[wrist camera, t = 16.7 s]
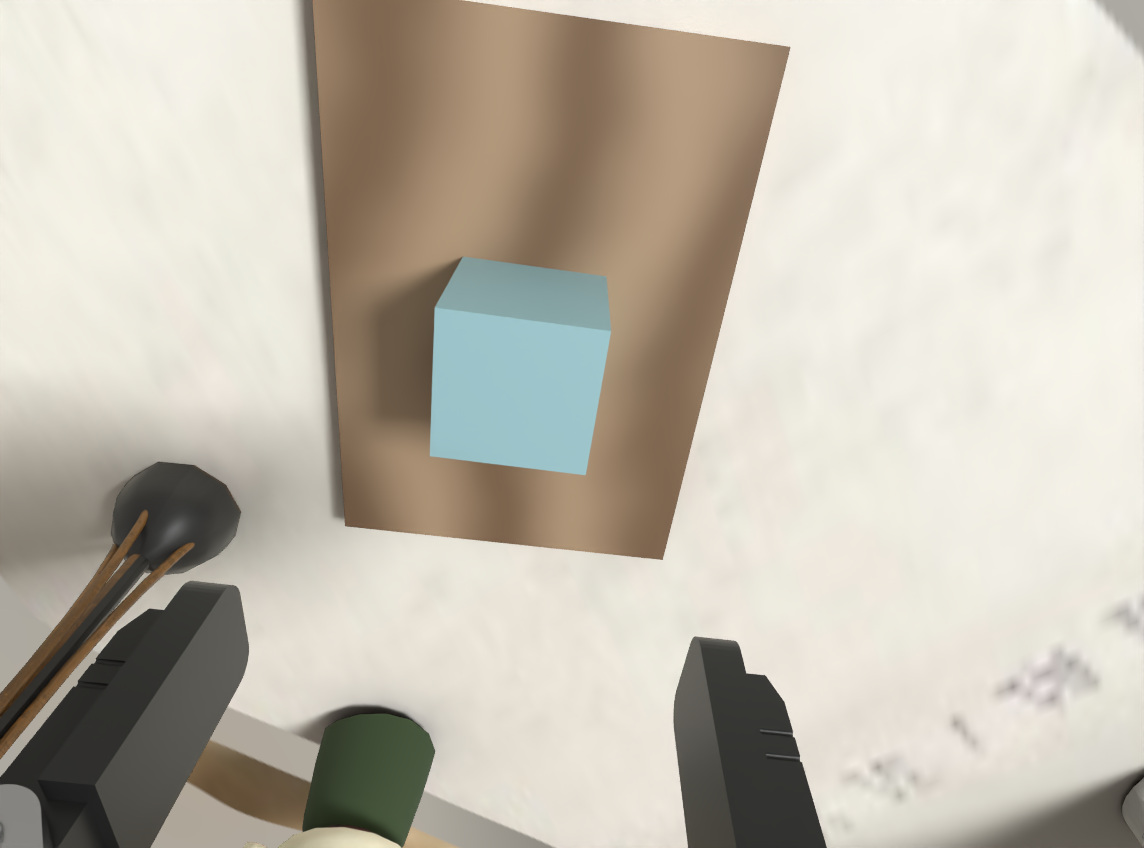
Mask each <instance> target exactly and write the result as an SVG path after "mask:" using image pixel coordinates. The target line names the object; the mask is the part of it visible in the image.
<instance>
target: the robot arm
mask: <svg viewBox="0 0 1144 848" xmlns="http://www.w3.org/2000/svg"><path fill="white" fill-rule="evenodd" d="M248 655H249V644H248V638H247V632H246V626H245V620H244V614H243V608H242V602H241V596H240V592H239V589H238V588H237V587H236V586H234V585H225V584H215V583H206V582H197V581H189V582H187V583H185V584H184V585H183V586H182V587H181V589H180V590H179V591H178V592H177V594H176V595H175V596H174V598H173V599H172V600H171V602H170V603H169V604H168V606H167V607H166V608H165V610H157V609H148V610H147V611H145V612H144V613H143V614H141V615H140V616H138V617H137V618H135V619H134V620H133V621H131V622H130V623H128V624H127V625H126V626H124V627H123V628H121V629H120V630H119V631H117V633H116V634H115V635H114V636H113V638H112V639H111V640H110V641H109V643H108V644H107V645H106V646H105V648H104V649H103V650H102V651H101V653H100V654H99V655H98V657H97V658H96V662H95V663H94V664H91V665H90V666H89V668H88V669H87V670H86V671H85V673H84V674H83V675H82V676H81V678H80V679H79V680H78V684H77V686H76V687H73V688H72V689H71V690H70V691H69V693H68V694H67V695H66V697H65V698H64V699H63V700H62V701H61V703H60V704H59V705H58V706H57V708H56V709H55V710H54V711H53V713H52V714H51V715H50V716H49V718H48V719H47V720H46V721H45V723H44V724H43V725H42V726H41V728H40V729H39V730H38V731H37V733H36V734H35V735H34V737H33V738H32V739H31V740H30V741H29V742H28V744H27V745H26V746H25V747H24V749H23V750H22V751H21V753H20V754H19V755H18V756H17V757H16V759H15V760H14V761H13V763H12V764H11V765H10V766H9V767H8V769H7V770H6V771H5V773H4V774H3V775H2V776H1V777H0V848H150V847H151V845H152V843H153V842H154V840H155V838H156V836H157V834H158V833H159V831H160V829H161V827H162V825H163V823H164V821H165V819H166V818H167V816H168V814H169V812H170V810H171V809H172V807H173V805H174V803H175V801H176V800H177V798H178V796H179V794H180V792H181V790H182V788H183V787H184V785H185V783H186V781H187V780H188V778H189V776H190V774H191V772H192V770H193V769H194V767H195V765H196V763H197V761H198V759H199V758H200V756H201V754H202V752H203V750H204V748H205V747H206V745H207V743H208V741H209V739H210V737H211V736H212V734H213V732H214V730H215V728H216V726H217V725H218V723H219V721H220V719H221V717H222V715H223V714H224V712H225V710H226V708H227V706H228V704H229V703H230V701H231V699H232V697H233V695H234V694H235V692H236V690H237V688H238V686H239V684H240V682H241V680H242V678H243V675H244V673H245V669H246V666H247V661H248ZM674 732H675V741H676V749H677V758H678V766H679V774H680V783H681V791H682V799H683V808H684V816H685V824H686V833H687V841H688V848H827V847H826V844H825V840H824V837H823V833H822V830H821V826H820V823H819V820H818V816H817V813H816V809H815V806H814V802H813V799H812V795H811V792H810V789H809V785H808V782H807V778H806V775H805V771H804V768H803V765H802V762H800V754H799V751H798V747H797V744H796V740H795V738H794V737H793V730H792V727H791V723H790V720H789V716H788V713H787V710H786V706H785V703H784V701H783V700H782V698H781V697H780V695H779V694H778V693H777V691H776V690H775V688H774V687H773V686H772V684H771V683H770V681H769V680H768V679H767V677H766V676H765V675H756V674H746V671H745V666H744V662H743V658H742V654H741V650H740V647H739V645H738V643H737V642H736V641H731V640H722V639H712V638H703V637H694V638H693V639H692V641H691V644H690V647H689V650H688V654H687V657H686V660H685V664H684V667H683V670H682V674H681V677H680V680H679V684H678V687H677V690H676V695H675V701H674ZM1122 813H1123V817H1124V819H1125V821H1126V823H1127V824H1128V826H1129V827H1130V829H1131V830H1132V832H1133V833H1134V835H1135V836H1136V838H1137V839H1138V841H1139V842H1140V843H1141V845H1142V846H1143V848H1144V778H1143V779H1142V780H1141V781H1140V782H1139V783H1138V784H1136V785H1135V786H1134V787H1133V788H1132V790H1131V791H1130V792H1129V794H1128V795H1127V796H1126V798H1125V801H1124V803H1123V806H1122Z"/></svg>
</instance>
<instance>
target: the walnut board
mask: <svg viewBox="0 0 1144 848" xmlns="http://www.w3.org/2000/svg"><path fill="white" fill-rule="evenodd" d="M312 2H313V18H314V34H315V50H316V66H317V82H318V98H319V114H320V130H321V147H322V163H323V179H324V195H325V211H326V227H327V243H328V259H329V275H330V291H331V307H332V323H333V339H334V356H335V372H336V388H337V404H338V420H339V436H340V452H341V468H342V484H343V500H344V516H345V526H348V527H358V528H367V529H377V530H386V531H396V532H405V533H415V534H424V535H433V536H443V537H452V538H462V539H471V540H481V541H490V542H500V543H509V544H519V545H528V546H537V547H547V548H556V549H566V550H575V551H585V552H594V553H604V554H613V555H622V556H632V557H641V558H651V559H660V560H663V556H664V552H665V548H666V544H667V540H668V536H669V532H670V528H671V524H672V520H673V516H674V512H675V508H676V504H677V500H678V496H679V492H680V488H681V484H682V480H683V476H684V472H685V468H686V464H687V460H688V456H689V452H690V448H691V444H692V440H693V436H694V432H695V428H696V424H697V420H698V416H699V412H700V408H701V404H702V400H703V396H704V392H705V388H706V384H707V380H708V376H709V372H710V368H711V364H712V360H713V356H714V352H715V348H716V344H717V340H718V336H719V332H720V328H721V324H722V320H723V316H724V312H725V308H726V304H727V300H728V296H729V292H730V288H731V284H732V280H733V276H734V272H735V268H736V264H737V260H738V256H739V252H740V248H741V244H742V240H743V236H744V232H745V228H746V223H747V219H748V215H749V211H750V207H751V203H752V199H753V195H754V191H755V187H756V183H757V179H758V175H759V171H760V167H761V163H762V159H763V155H764V151H765V147H766V143H767V139H768V135H769V131H770V127H771V123H772V119H773V115H774V111H775V107H776V103H777V99H778V95H779V91H780V87H781V83H782V79H783V75H784V71H785V67H786V63H787V59H788V55H789V51H790V47H786V46H779V45H772V44H765V43H758V42H751V41H744V40H737V39H730V38H723V37H716V36H709V35H702V34H695V33H688V32H681V31H674V30H667V29H660V28H653V27H646V26H639V25H632V24H625V23H617V22H610V21H603V20H596V19H589V18H582V17H575V16H568V15H561V14H554V13H547V12H540V11H533V10H526V9H519V8H512V7H505V6H498V5H491V4H484V3H477V2H470V1H463V0H312ZM463 257H470V258H477V259H484V260H492V261H499V262H506V263H513V264H521V265H528V266H535V267H542V268H549V269H557V270H564V271H571V272H578V273H586V274H593V275H600V276H607V288H608V300H609V312H610V323H611V335H610V341H609V346H608V352H607V358H606V363H605V369H604V375H603V380H602V386H601V392H600V397H599V403H598V409H597V414H596V420H595V426H594V431H593V437H592V443H591V448H590V454H589V460H588V465H587V471H586V475H580V474H571V473H563V472H555V471H547V470H539V469H531V468H522V467H514V466H506V465H498V464H490V463H482V462H473V461H465V460H457V459H449V458H441V457H433V456H430V433H431V404H432V374H433V344H434V315H435V306H436V304H437V303H438V301H439V299H440V297H441V295H442V294H443V292H444V290H445V288H446V286H447V285H448V283H449V281H450V279H451V277H452V276H453V274H454V272H455V270H456V268H457V267H458V265H459V263H460V261H461V259H462V258H463Z"/></svg>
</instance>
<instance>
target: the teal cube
mask: <svg viewBox="0 0 1144 848" xmlns="http://www.w3.org/2000/svg"><path fill="white" fill-rule="evenodd" d="M610 335H611V323H610V312H609V300H608V288H607V276H600V275H593V274H586V273H578V272H571V271H564V270H557V269H549V268H542V267H535V266H528V265H521V264H513V263H506V262H499V261H492V260H484V259H477V258H470V257H463V258H462V259H461V261H460V263H459V265H458V267H457V268H456V270H455V272H454V274H453V276H452V277H451V279H450V281H449V283H448V285H447V286H446V288H445V290H444V292H443V294H442V295H441V297H440V299H439V301H438V303H437V304H436V306H435V315H434V344H433V374H432V404H431V433H430V456H433V457H441V458H449V459H457V460H465V461H473V462H482V463H490V464H498V465H506V466H514V467H522V468H531V469H539V470H547V471H555V472H563V473H571V474H580V475H586V471H587V465H588V460H589V454H590V448H591V443H592V437H593V431H594V426H595V420H596V414H597V409H598V403H599V397H600V392H601V386H602V380H603V375H604V369H605V363H606V358H607V352H608V346H609V341H610Z"/></svg>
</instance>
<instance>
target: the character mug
mask: <svg viewBox="0 0 1144 848" xmlns="http://www.w3.org/2000/svg"><path fill="white" fill-rule="evenodd" d="M434 754H435V749H434V746H433V744H432V741H431V739H430V736H429V733H427V732H426V731H425V730H423V729H422V728H421V727H420V726H418V725H417V724H416V723H414V722H413V721H412V720H409V719H405V718H401V717H398V716H394V715H390V714H359V715H355V716H352V717H348V718H345V719H341V720H337V721H336V722H334V723H333V724H331V725H330V726H328V727H327V728H325V731H324V735H323V738H322V742H321V745H320V749H319V753H318V756H317V760H316V763H315V768H314V773H313V777H312V782H311V787H310V791H309V796H308V800H307V805H306V809H305V814H304V820H303V832H302V833H299V834H296V835H293V836H292V837H290V838H289V839H288V840H287V841H285V842H284V843H283V844H281V845H280V846H279V847H278V848H402V847H403V846H404V844H405V841H406V838H407V836H408V833H409V830H410V827H411V824H412V822H413V819H414V816H415V813H416V811H417V808H418V805H419V803H420V799H421V797H422V794H423V791H424V788H425V784H426V781H427V778H428V775H429V772H430V768H431V765H432V761H433V758H434ZM243 848H267V847H265V846H264V845H261V844H258V843H252V842H247V843H246V845H245V846H244V847H243Z"/></svg>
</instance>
